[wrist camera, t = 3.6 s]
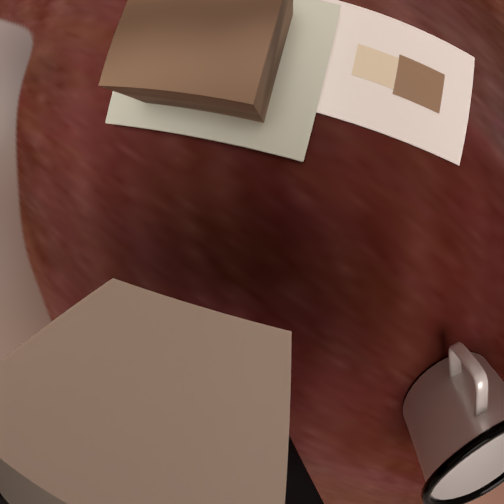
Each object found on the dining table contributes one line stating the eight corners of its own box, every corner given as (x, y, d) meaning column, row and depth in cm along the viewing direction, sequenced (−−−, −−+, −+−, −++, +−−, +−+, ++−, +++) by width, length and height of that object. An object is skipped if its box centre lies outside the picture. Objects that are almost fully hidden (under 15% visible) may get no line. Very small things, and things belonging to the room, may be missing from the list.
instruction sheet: (457, 165, 16) (459, 165, 16) (289, 105, 16) (289, 104, 16) (473, 58, 13) (475, 57, 13) (317, -4, 14) (317, -6, 14)
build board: (302, 162, 17) (303, 161, 16) (114, 124, 18) (105, 122, 16) (338, 13, 14) (341, 5, 13) (157, -8, 15) (150, -15, 14)
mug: (490, 403, 20) (529, 467, 11) (401, 444, 22) (422, 523, 13) (491, 296, 18) (565, 359, 9) (380, 348, 20) (418, 446, 11)
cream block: (246, 447, 9) (215, 601, 4) (111, 402, 9) (27, 524, 4) (291, 331, 8) (279, 568, 2) (112, 278, 8) (-55, 407, 2)
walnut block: (263, 123, 16) (253, 104, 11) (145, 102, 16) (98, 85, 11) (293, 13, 14) (292, -34, 9) (177, 1, 14) (145, -39, 9)
